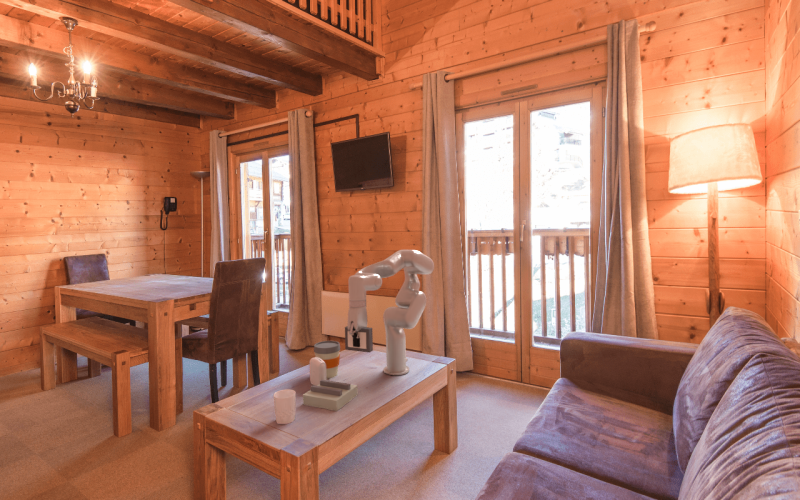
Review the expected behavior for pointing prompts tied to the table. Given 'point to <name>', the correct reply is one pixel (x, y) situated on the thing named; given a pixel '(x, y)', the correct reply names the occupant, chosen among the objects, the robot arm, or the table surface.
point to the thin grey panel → (365, 340)
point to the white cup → (285, 406)
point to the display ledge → (330, 395)
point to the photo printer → (317, 371)
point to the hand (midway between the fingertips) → (358, 345)
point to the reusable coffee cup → (329, 356)
